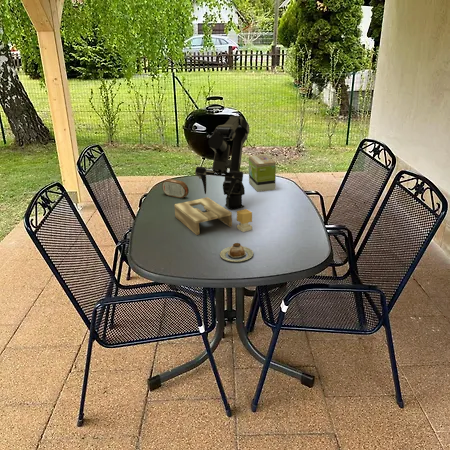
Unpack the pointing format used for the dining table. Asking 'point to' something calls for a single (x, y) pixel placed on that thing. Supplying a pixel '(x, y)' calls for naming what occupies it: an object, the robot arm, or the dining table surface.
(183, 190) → the tin
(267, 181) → the tea box
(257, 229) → the dining table surface
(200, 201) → the keyhole board
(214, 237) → the dining table surface
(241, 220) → the mustard yellow block
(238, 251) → the pastry
